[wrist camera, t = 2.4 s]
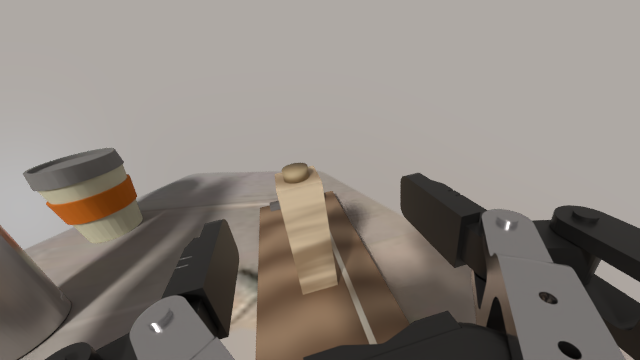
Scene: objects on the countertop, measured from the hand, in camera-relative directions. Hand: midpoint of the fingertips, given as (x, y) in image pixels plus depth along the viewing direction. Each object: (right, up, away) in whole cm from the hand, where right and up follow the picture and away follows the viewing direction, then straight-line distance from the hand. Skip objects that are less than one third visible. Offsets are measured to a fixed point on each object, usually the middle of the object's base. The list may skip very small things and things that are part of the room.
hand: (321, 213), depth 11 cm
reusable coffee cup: (-41, -8, +37) cm, 56 cm away
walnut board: (-1, -10, +21) cm, 23 cm away
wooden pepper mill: (0, -10, +17) cm, 20 cm away
